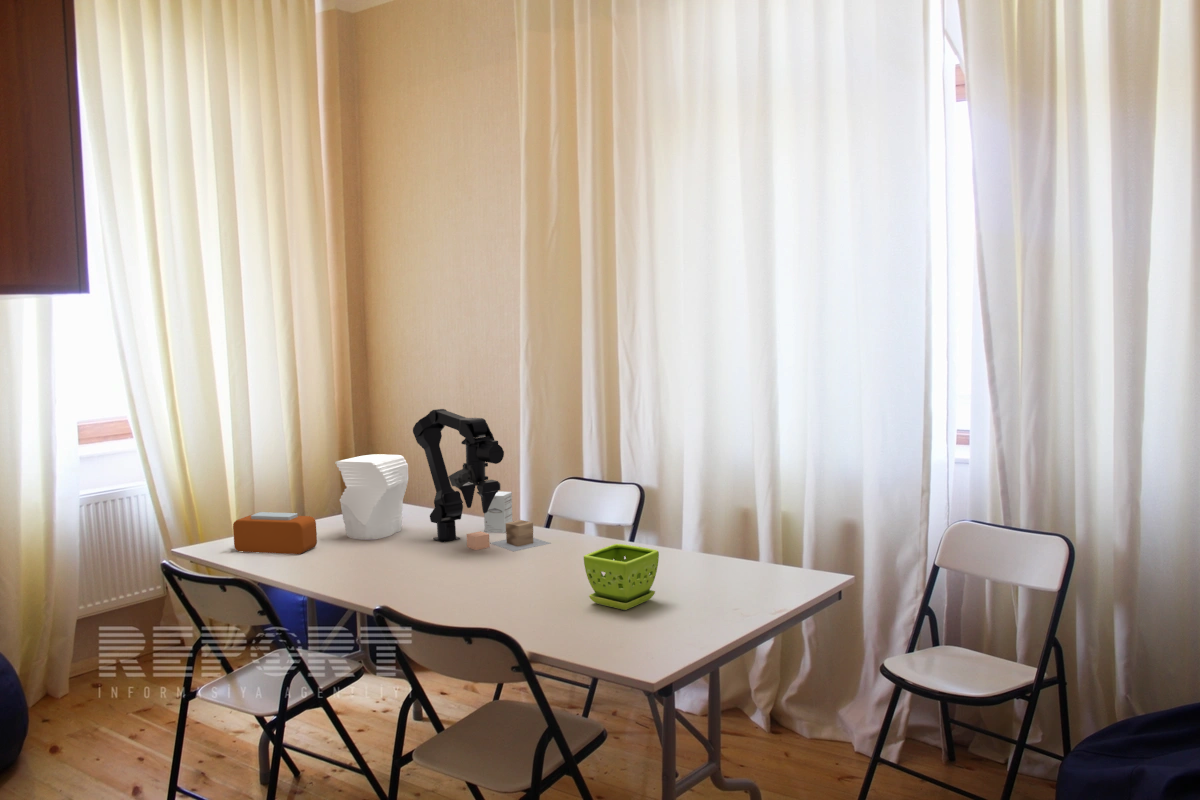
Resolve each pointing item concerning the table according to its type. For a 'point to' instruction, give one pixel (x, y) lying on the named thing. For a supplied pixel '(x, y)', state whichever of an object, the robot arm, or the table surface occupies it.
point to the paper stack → (373, 495)
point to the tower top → (519, 527)
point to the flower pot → (621, 575)
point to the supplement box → (499, 512)
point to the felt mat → (514, 548)
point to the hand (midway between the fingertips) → (476, 510)
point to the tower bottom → (519, 539)
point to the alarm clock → (275, 533)
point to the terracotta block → (478, 540)
